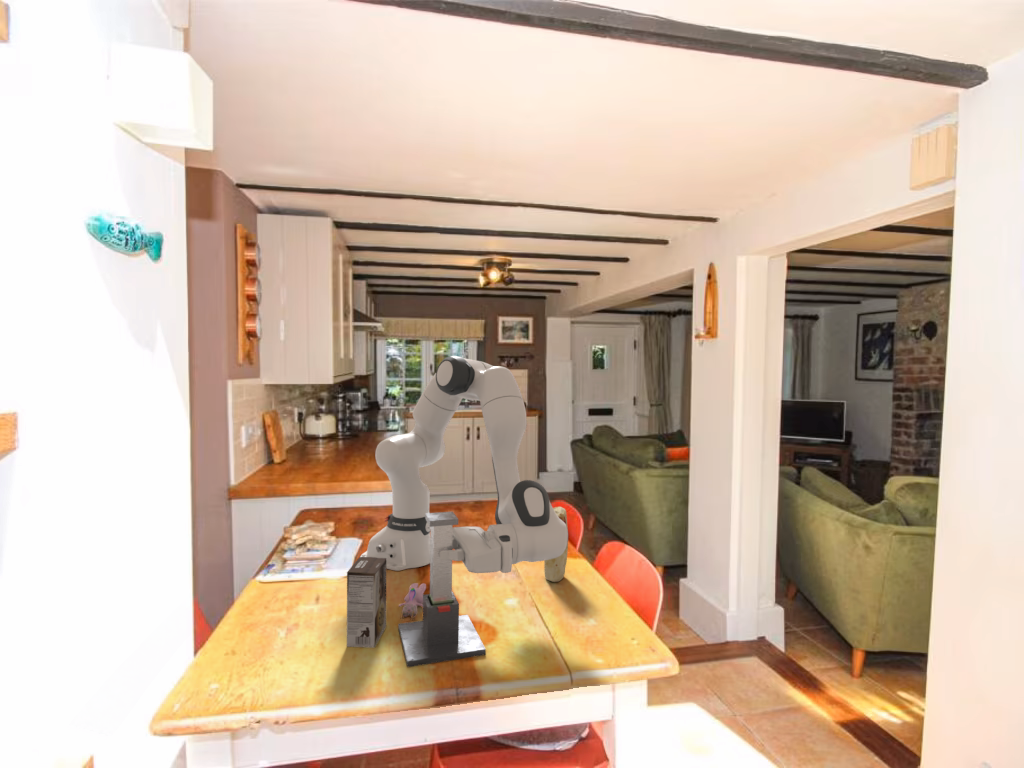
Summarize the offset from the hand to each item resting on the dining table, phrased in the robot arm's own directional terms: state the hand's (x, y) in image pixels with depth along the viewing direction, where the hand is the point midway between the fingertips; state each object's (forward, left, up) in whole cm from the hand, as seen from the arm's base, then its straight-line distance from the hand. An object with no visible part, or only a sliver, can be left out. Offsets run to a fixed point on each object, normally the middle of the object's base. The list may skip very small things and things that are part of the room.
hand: (437, 550), depth 114 cm
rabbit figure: (-12, +14, -20) cm, 27 cm away
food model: (+18, +43, -20) cm, 50 cm away
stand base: (+1, +1, -20) cm, 20 cm away
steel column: (+1, +1, -14) cm, 14 cm away
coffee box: (-15, -2, -20) cm, 25 cm away
